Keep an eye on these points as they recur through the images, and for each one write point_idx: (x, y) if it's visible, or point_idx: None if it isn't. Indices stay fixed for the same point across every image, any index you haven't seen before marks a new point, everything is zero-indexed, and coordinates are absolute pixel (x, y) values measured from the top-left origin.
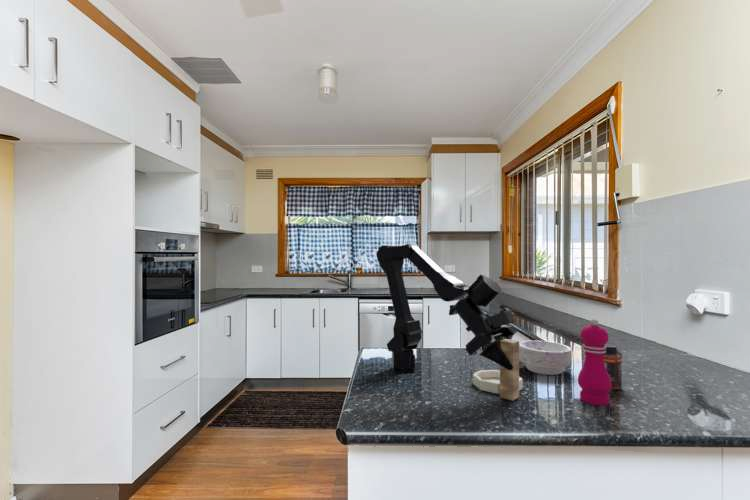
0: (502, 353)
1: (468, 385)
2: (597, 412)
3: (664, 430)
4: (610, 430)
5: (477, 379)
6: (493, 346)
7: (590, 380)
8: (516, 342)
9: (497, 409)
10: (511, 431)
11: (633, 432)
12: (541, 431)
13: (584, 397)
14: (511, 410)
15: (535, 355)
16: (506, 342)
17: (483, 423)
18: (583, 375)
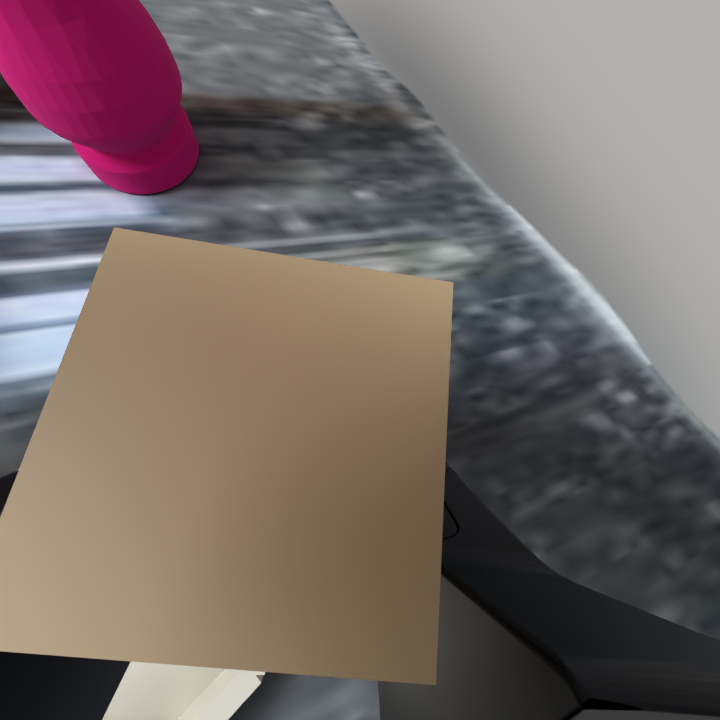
0: (455, 492)
1: None
2: (275, 147)
3: (316, 24)
4: (407, 123)
5: (227, 715)
6: (602, 704)
7: (156, 57)
8: (272, 263)
9: (483, 448)
10: (622, 347)
11: (382, 81)
12: (553, 273)
13: (176, 166)
14: (454, 396)
15: None
16: (439, 455)
17: (641, 447)
18: (118, 63)
